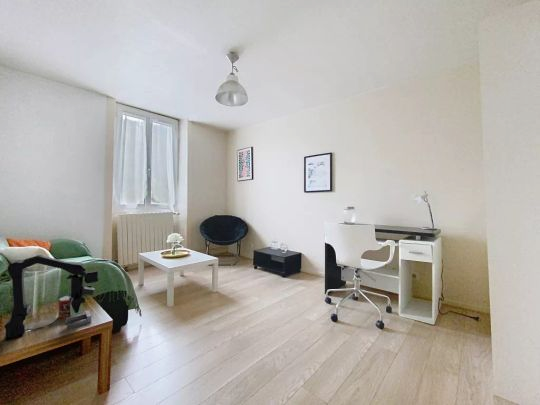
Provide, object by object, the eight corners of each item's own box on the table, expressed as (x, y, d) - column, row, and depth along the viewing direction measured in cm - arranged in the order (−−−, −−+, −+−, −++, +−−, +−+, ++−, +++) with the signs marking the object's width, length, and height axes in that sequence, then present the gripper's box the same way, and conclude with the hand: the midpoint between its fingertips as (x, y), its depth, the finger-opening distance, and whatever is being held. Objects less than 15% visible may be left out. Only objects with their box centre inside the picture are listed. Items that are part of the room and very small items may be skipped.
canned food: (56, 319, 144) (56, 301, 144) (62, 313, 151) (62, 296, 151) (72, 317, 147) (72, 299, 147) (77, 311, 154) (77, 294, 154)
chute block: (71, 316, 136) (71, 304, 136) (70, 313, 140) (70, 301, 140) (82, 313, 140) (82, 302, 140) (81, 311, 143) (81, 299, 143)
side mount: (66, 329, 133) (67, 322, 133) (65, 322, 140) (65, 315, 140) (91, 322, 141) (91, 315, 141) (88, 316, 148) (88, 310, 148)
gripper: (96, 285, 139) (95, 312, 139) (91, 278, 152) (90, 302, 152) (71, 290, 131) (70, 318, 131) (68, 281, 144) (67, 307, 144)
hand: (76, 311), depth 140 cm, fingers closed on chute block, 5 cm apart
